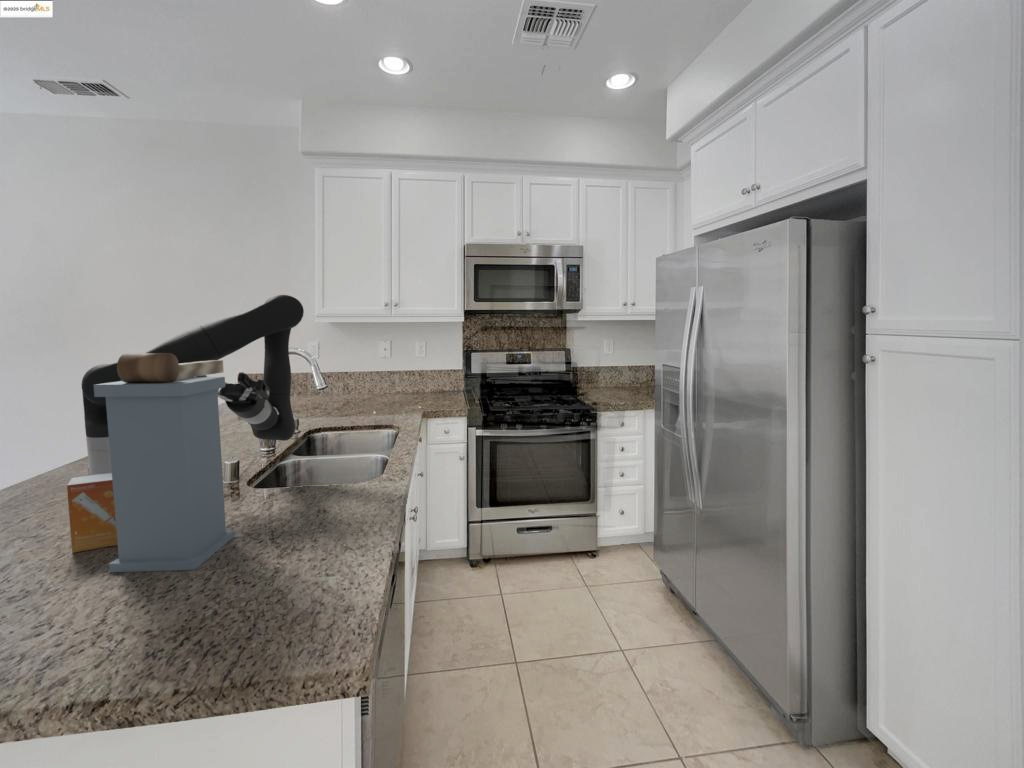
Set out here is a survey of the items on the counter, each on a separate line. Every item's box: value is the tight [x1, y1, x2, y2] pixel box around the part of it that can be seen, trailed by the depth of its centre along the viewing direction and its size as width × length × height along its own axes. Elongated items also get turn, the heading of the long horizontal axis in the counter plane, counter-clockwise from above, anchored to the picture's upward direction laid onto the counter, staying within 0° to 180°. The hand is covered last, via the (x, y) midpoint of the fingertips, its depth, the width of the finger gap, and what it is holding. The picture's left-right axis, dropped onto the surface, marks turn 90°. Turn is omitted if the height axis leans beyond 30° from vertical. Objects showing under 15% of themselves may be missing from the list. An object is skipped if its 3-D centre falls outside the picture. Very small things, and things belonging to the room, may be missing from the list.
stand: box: [94, 376, 235, 573], centre depth 92 cm, size 14×14×32 cm
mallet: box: [117, 352, 225, 383], centre depth 96 cm, size 25×7×5 cm, turn 4°
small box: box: [66, 473, 118, 554], centre depth 98 cm, size 8×6×13 cm
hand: (219, 376), depth 110 cm, fingers open, 8 cm apart
